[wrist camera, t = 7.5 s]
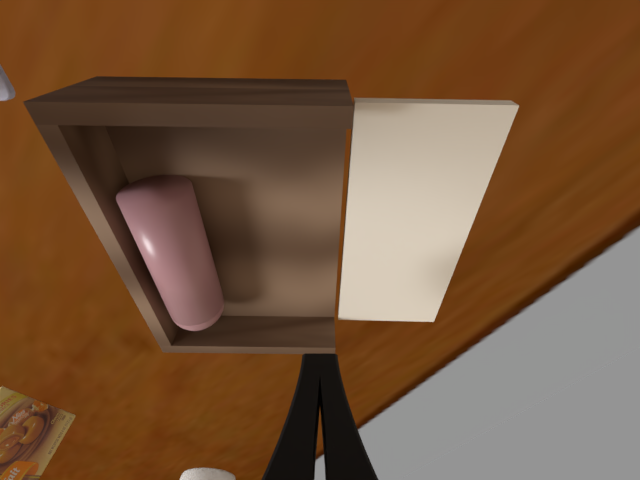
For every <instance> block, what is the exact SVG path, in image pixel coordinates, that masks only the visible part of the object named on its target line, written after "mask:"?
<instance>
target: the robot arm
mask: <svg viewBox="0 0 640 480" xmlns="http://www.w3.org/2000/svg"><path fill="white" fill-rule="evenodd" d="M14 97H15V90H14V88H13V86H12V84H11V82H10V81H9V79H8V77H7V75H6V74H5V72H4V70H3V68H2V66H1V65H0V101H6V100H10V99H13V98H14ZM319 412H321V425H322V438H323V450H324V463H325V480H378V477H377V475H376V473H375V471H374V469H373V466H372V464H371V462H370V459H369V457H368V455H367V452H366V450H365V447H364V445H363V442H362V440H361V437H360V434H359V432H358V429H357V427H356V424H355V421H354V418H353V415H352V412H351V409H350V406H349V403H348V400H347V396H346V393H345V389H344V386H343V382H342V378H341V373H340V368H339V363H338V355H337V354H335V353H305V354H303V355H302V362H301V368H300V373H299V377H298V382H297V385H296V389H295V393H294V396H293V399H292V402H291V406H290V409H289V412H288V415H287V418H286V421H285V423H284V426H283V429H282V431H281V434H280V437H279V439H278V442H277V444H276V447H275V449H274V452H273V454H272V457H271V459H270V461H269V464H268V466H267V468H266V471H265V473H264V475H263V477H262V479H261V480H314V479H315V462H316V449H317V437H318V424H319Z"/></svg>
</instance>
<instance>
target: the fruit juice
mask: <svg viewBox="0 0 640 480" xmlns="http://www.w3.org/2000/svg"><path fill="white" fill-rule="evenodd" d="M180 480H236V478H235V476H234V475H233V474H232V473H230V472H228V471H224V470H220V469H215V468H192V469H188V470H186V471H184V472H183V473H182V475H181V477H180Z"/></svg>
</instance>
